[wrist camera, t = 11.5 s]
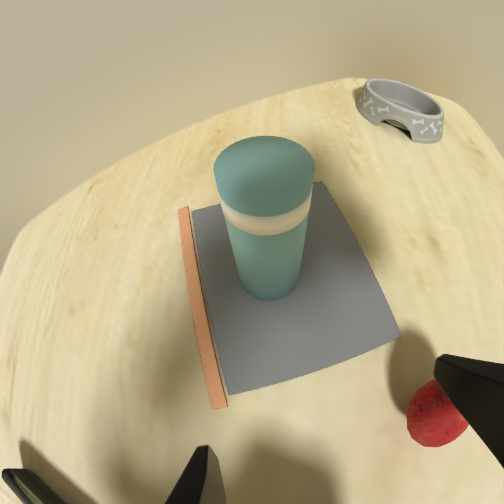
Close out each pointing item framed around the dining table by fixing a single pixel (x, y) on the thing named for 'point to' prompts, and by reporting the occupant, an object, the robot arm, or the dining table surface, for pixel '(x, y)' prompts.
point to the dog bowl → (402, 108)
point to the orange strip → (200, 314)
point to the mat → (293, 302)
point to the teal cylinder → (266, 211)
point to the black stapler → (29, 487)
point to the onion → (434, 417)
